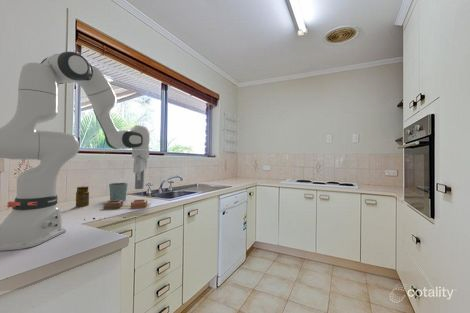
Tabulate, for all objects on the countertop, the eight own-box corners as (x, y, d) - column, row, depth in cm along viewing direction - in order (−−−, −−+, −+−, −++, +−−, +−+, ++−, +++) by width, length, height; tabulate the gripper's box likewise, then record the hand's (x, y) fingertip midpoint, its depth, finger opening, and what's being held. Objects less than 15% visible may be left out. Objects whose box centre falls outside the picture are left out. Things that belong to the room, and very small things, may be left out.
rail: (148, 210, 118) (148, 202, 118) (98, 213, 112) (98, 204, 112) (150, 205, 130) (151, 198, 130) (106, 207, 124) (106, 199, 124)
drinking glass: (106, 204, 131) (106, 184, 131) (111, 201, 141) (112, 182, 141) (124, 204, 134) (125, 184, 134) (128, 200, 143) (129, 182, 143)
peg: (142, 189, 121) (143, 169, 121) (134, 189, 120) (135, 169, 120) (143, 187, 125) (144, 168, 125) (136, 187, 124) (136, 168, 124)
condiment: (89, 206, 127) (89, 185, 127) (90, 209, 120) (91, 187, 120) (73, 208, 122) (73, 186, 122) (74, 211, 115) (74, 188, 115)
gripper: (143, 155, 113) (142, 181, 114) (149, 154, 133) (148, 177, 133) (130, 155, 112) (129, 181, 112) (137, 154, 132) (137, 177, 132)
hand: (139, 179), depth 123 cm, fingers closed on peg, 4 cm apart
